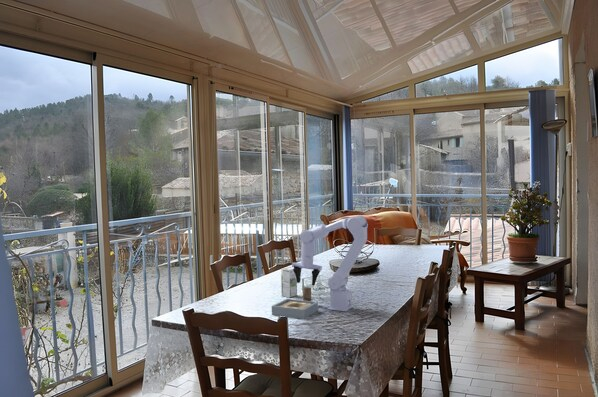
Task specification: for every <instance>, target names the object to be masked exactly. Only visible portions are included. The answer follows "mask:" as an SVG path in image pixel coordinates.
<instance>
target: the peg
mask: <svg viewBox="0 0 598 397" xmlns="http://www.w3.org/2000/svg"><path fill="white" fill-rule="evenodd" d="M302 300H304V301H312V288H311V287H309V286H308V287H302Z"/></svg>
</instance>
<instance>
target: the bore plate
mask: <svg viewBox="0 0 598 397" xmlns="http://www.w3.org/2000/svg"><path fill="white" fill-rule="evenodd" d="M310 305H311V303H302V302H293V301H290V302H287V303H285V304H283V305H281V307H289V308H298V309H304V308H306V307H308V306H310Z"/></svg>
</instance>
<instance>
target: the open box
mask: <svg viewBox="0 0 598 397" xmlns="http://www.w3.org/2000/svg"><path fill="white" fill-rule="evenodd" d="M290 301H293V302H302V303H311V305H310V306H308V307H306V308H304V309H298V308H289V307H281V305H283V304H285V303H287V302H290ZM317 312H319V302H318V301H313V300H311V301H304V300H303V299H295V298H285V299H283V300H281V301H279V302H277V303H275V304H273V305H271V315H272V316H279V317H284V316H287V317H286V318H293V319H301V320H305V319H307V318H308V317H310V316H312V315H314V314H315V313H317Z"/></svg>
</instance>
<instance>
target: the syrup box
mask: <svg viewBox="0 0 598 397" xmlns="http://www.w3.org/2000/svg"><path fill="white" fill-rule="evenodd" d="M293 269H294V267H292V266H287V267H283V268H282V267H281V269H280V270H281V271H280V272H281V274H280V276H281V278H280V279H281V297H282V298H283V297H284V298H288V299H292V298H293V297H297V296H298V283H297V279H296V275H295V273H294V271H293Z"/></svg>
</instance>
